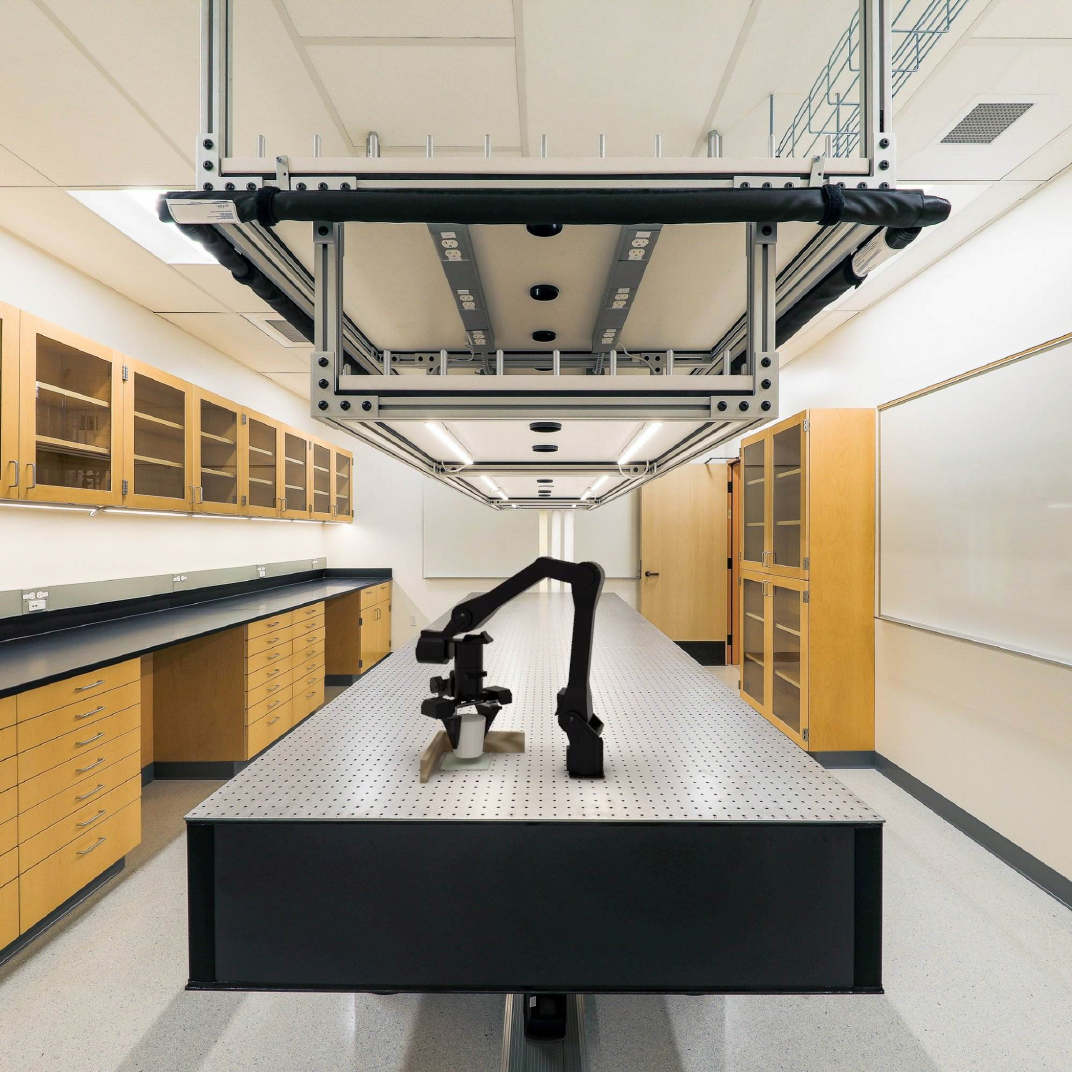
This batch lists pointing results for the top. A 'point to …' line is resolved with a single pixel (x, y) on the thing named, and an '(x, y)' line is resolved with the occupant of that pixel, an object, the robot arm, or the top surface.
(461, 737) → the white cup
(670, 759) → the top surface
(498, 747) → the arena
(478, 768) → the pad
